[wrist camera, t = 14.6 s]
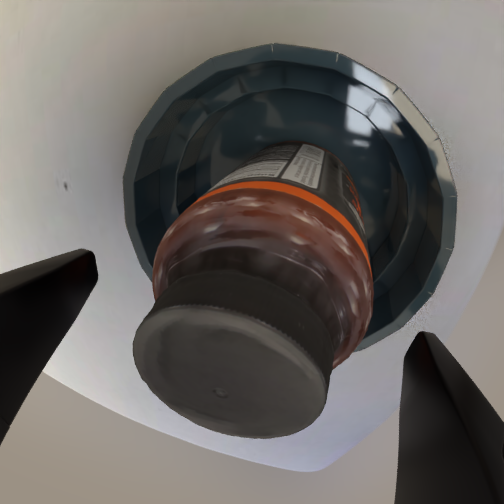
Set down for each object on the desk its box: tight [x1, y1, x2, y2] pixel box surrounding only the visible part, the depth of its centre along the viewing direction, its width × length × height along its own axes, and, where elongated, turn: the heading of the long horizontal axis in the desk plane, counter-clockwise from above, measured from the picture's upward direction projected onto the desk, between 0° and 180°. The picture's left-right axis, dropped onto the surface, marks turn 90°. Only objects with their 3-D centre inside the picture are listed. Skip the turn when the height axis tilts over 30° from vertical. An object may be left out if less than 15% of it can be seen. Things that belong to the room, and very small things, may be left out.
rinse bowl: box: [123, 43, 457, 353], centre depth 14 cm, size 13×13×5 cm
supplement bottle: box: [133, 141, 374, 439], centre depth 10 cm, size 6×6×11 cm
